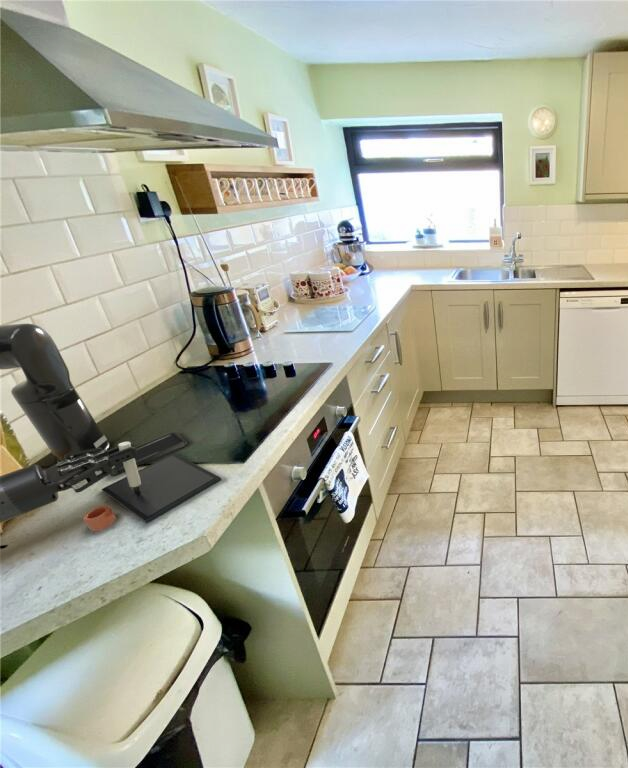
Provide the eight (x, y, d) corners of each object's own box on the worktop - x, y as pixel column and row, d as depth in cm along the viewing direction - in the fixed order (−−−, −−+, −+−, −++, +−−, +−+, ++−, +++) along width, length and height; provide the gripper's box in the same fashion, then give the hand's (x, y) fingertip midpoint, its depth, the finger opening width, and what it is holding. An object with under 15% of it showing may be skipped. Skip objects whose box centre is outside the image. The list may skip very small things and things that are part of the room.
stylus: (130, 495, 86) (116, 443, 82) (141, 491, 87) (127, 440, 83) (134, 498, 85) (120, 446, 81) (145, 494, 86) (131, 443, 82)
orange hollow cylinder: (87, 527, 80) (79, 516, 79) (111, 514, 83) (104, 503, 81) (95, 535, 78) (87, 523, 77) (120, 521, 81) (112, 509, 80)
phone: (100, 462, 97) (174, 431, 107) (102, 466, 97) (176, 434, 108) (110, 474, 93) (187, 440, 103) (113, 478, 93) (188, 444, 104)
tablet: (103, 492, 89) (100, 488, 89) (175, 456, 100) (174, 452, 99) (147, 524, 80) (144, 520, 79) (222, 480, 91) (220, 477, 90)
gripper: (-4, 496, 67) (132, 446, 78) (-2, 462, 75) (120, 421, 86) (24, 530, 70) (150, 477, 81) (23, 494, 79) (137, 450, 90)
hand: (134, 448), depth 84 cm, fingers closed on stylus, 2 cm apart
